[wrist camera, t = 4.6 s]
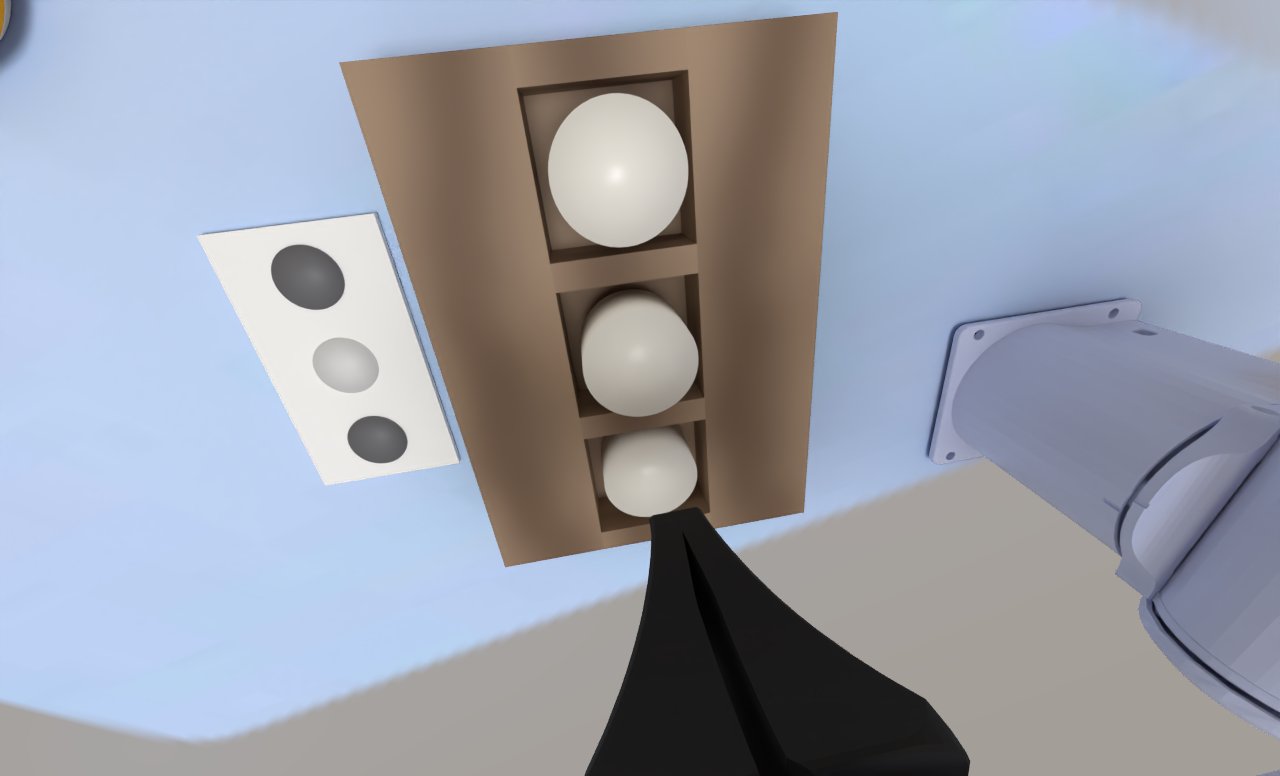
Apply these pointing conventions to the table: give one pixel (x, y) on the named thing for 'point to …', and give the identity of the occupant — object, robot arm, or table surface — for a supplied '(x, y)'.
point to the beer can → (4, 16)
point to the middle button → (637, 353)
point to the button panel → (613, 261)
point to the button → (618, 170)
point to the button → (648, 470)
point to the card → (337, 343)
